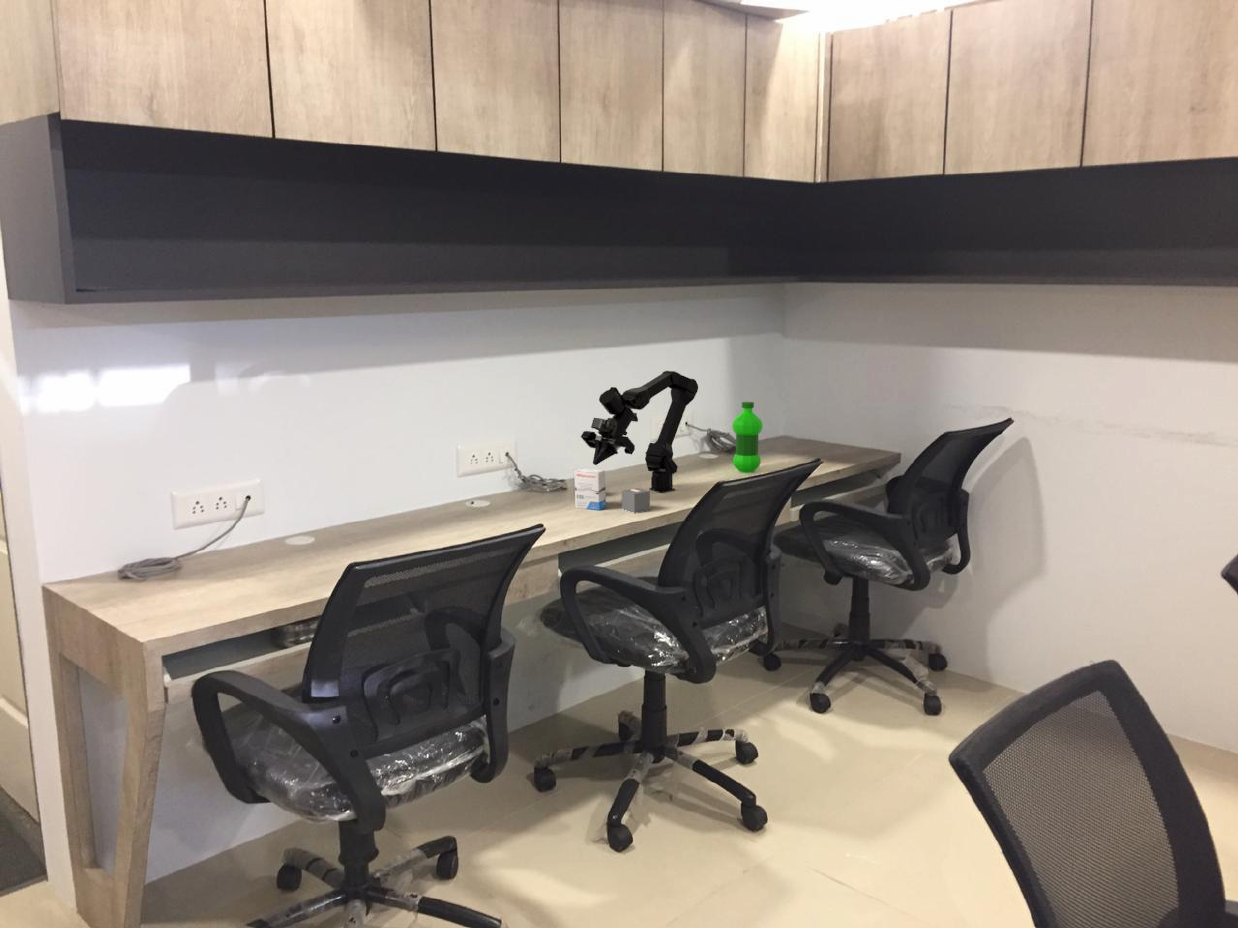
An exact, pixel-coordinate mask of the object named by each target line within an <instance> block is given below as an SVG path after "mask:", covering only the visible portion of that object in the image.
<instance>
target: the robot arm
mask: <svg viewBox="0 0 1238 928" xmlns="http://www.w3.org/2000/svg"><path fill="white" fill-rule="evenodd" d="M668 388H669V389H670V396H671V397H670V398H671V403H670V406H669V409H668V411H667V414H666V416H665V419H664V422H663V424H662V427H661V430H660V433H659V434H658V438H657V440H656V441H655V442H649V444H648V446H647V449H646V451H645V453H644V454H645V457H644V461H645V464H646V468H647V471H648V472H651V477H650V480H651V481H650V484H651V485H650V487H649V488H648V491H653V492H658V493H661V494H662V493H667V492H673V491H676V488H674V487H673V480H674V479H673V478H674V477H673V475H674V474H675V473H677V471H678V467H679V466H678V465H677V464H676V463H677V462H675V461H674V459H673V458H674V457H673V456H674V451H673V442H674V440H675V437H676V434H677V433H678V429H679V426H680V424H681V421H682V418H683V416H684V413H685V410H686V407H687V406H688V405H689V404H690V403H691V402H692V401H694V399H695V397H696V396H697V393H698V391H699V384H698V382H697V380H696V379H695V378H690V377H687V376H685V375H683V374H681V373H679V372H677V371H675V370H664V371H663V372H662V373H661V374H659V375H658V376H656V377H655V378H654V377H653V379H651V380H650V381H647V382H646V383H645V384H643V385H642V386H639V387H633V388H629V389H627V390H625V391H623V392H622V394H621V393H620V391H619V389H618V388H617V387H615V386H614V387H613V386H611V387H610V388H609V389H607V390H605V391H604V392H603V393H601V394H600V396H599V397H598V398H599V399H598V401H599V402H600V404H601V406H602V407H603V409H605V410H606V412H607V413H608V414H609V415H613V416H612V417H608V418H607V419H605V418H599V417H593V419H592V423H591V426H590V428H591V429H594V430H597V433H598V434H599V435H597V433H596V432H595V431H591V430H584V431H583V432H582V434H581V435H580V438H581V439H582V440H583V442H584V443H585V444H586V445H587V446H588V447H589V448H591V449H595V450H594V453H593V454H594V455H593V459H592V464H593V465H594V466H597V465H599V464H600V463H602V462H603V461H605V460H607V459H609V458H611V457H612V456H614V455H618V454H619V452H618V450H619V449H621V448H624V453H625V454H627V455H633V453H634V452H635V450H636V446H635V444H634V443H633V441H632V440H631V439H630V438H629V436H627V435H628V432H627V429H628V427H629V426H630V424H631V422H634V423H635V422H636V423H637V422H638V421H639V418H638V416H637V415H638V413H637V412H634V411H633V410H639V411H642V410H644V409H645V407H647V406H648V405H649V404H650V402H651V399H652V398H653V397H655V396H656V395H658V394H659V393H661V392H663V391H665V390H666V389H668Z"/></svg>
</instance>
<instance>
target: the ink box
mask: <svg viewBox="0 0 1238 928" xmlns="http://www.w3.org/2000/svg"><path fill="white" fill-rule="evenodd" d="M573 473H574V474H573V475H574V476H573V477H574V478H573V479H574V480H575V497H574V501H575V502H574V504H575V505H574V506H575V507H574V508H575V509H583V510H592V511H601V510H602V509H606V507H607V501H606V499H607V497H606V495H607V494H606V493H607V492H606V470H604V469H596V468H595V469H593V468H579V469H576V470H575V471H573Z"/></svg>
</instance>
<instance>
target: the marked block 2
mask: <svg viewBox="0 0 1238 928" xmlns="http://www.w3.org/2000/svg"><path fill="white" fill-rule="evenodd" d="M650 491H651V490H646V489H643V488H639V487H634V488H630V489H624V490H621V510H622V509H624V510H623V511H625V510H627V511H626V512H628V511H630V512H629V513H631V512H634V513H633V514H637V513H636V512H639V513H642V512H641V511H644V512H648V511H647V510H649V511H651V499H650V498H651V492H650Z"/></svg>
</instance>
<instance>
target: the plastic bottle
mask: <svg viewBox="0 0 1238 928" xmlns="http://www.w3.org/2000/svg"><path fill="white" fill-rule="evenodd" d="M754 407H755V401H741V408H742V409H743V410H742V412H741V413H740V414H738V416H736V417H735V418H734V420H733V422H732V431H733V432H734V433H735V454H734V455H733V458H732V465H733V466H734V467H735V468H736V469H737V471H739V472H740V473H743V474H749V473H750V472H751V473H754V472H755V471H756V470H757V469H758V468H759V467H760V465H761V457H760V455H759V434H760V433H761V432H762V431H763V430H762V429H763V422H762V420H761V418H759V416H757V414H755V413H754V412H753V409H754Z"/></svg>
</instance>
